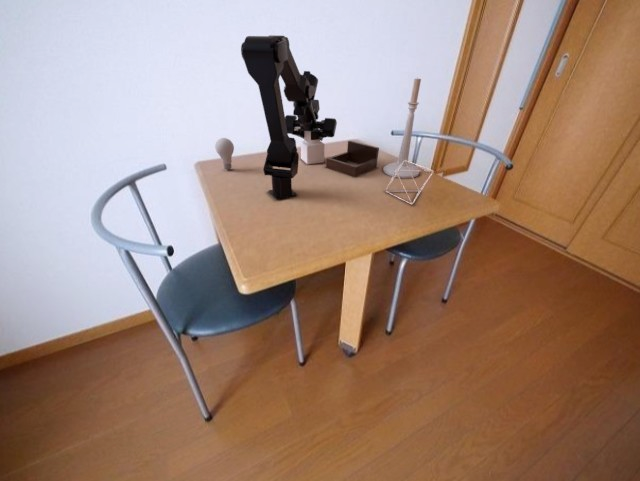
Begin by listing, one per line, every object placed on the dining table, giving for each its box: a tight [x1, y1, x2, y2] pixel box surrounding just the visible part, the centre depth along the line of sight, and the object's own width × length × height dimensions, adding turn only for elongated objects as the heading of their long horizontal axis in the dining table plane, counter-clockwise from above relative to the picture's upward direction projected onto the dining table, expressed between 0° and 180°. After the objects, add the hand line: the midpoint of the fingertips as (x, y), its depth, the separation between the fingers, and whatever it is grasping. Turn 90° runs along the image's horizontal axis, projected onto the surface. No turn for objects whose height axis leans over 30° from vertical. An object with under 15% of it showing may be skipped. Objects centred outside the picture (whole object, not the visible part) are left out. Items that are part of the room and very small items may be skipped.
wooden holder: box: [325, 140, 380, 178], centre depth 105 cm, size 13×13×8 cm
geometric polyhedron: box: [385, 160, 435, 205], centre depth 84 cm, size 12×11×9 cm
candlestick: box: [382, 78, 422, 179], centre depth 96 cm, size 13×13×30 cm
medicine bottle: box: [300, 128, 325, 165], centre depth 109 cm, size 7×7×12 cm
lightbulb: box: [214, 137, 235, 171], centre depth 99 cm, size 6×6×11 cm
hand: (313, 139), depth 109 cm, fingers closed on medicine bottle, 6 cm apart
